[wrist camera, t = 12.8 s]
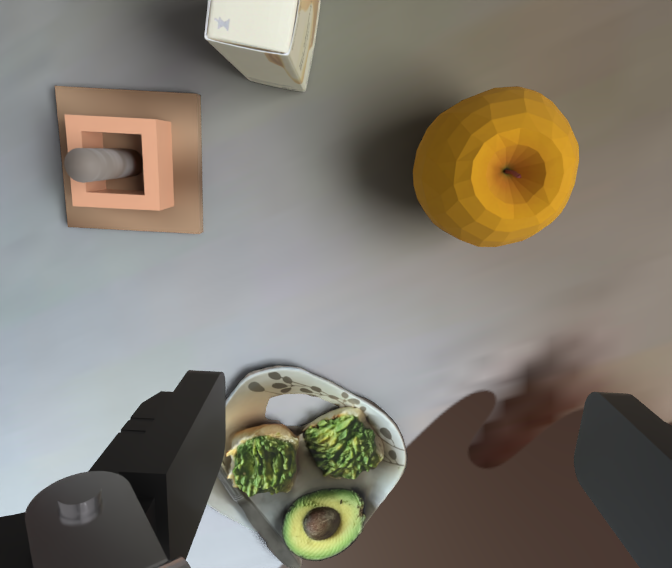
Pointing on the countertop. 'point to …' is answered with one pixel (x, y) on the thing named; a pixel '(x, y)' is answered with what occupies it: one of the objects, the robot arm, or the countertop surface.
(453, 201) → the apple
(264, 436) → the avocado toast plate
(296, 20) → the skincare box
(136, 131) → the ring
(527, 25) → the countertop surface
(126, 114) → the post stand
